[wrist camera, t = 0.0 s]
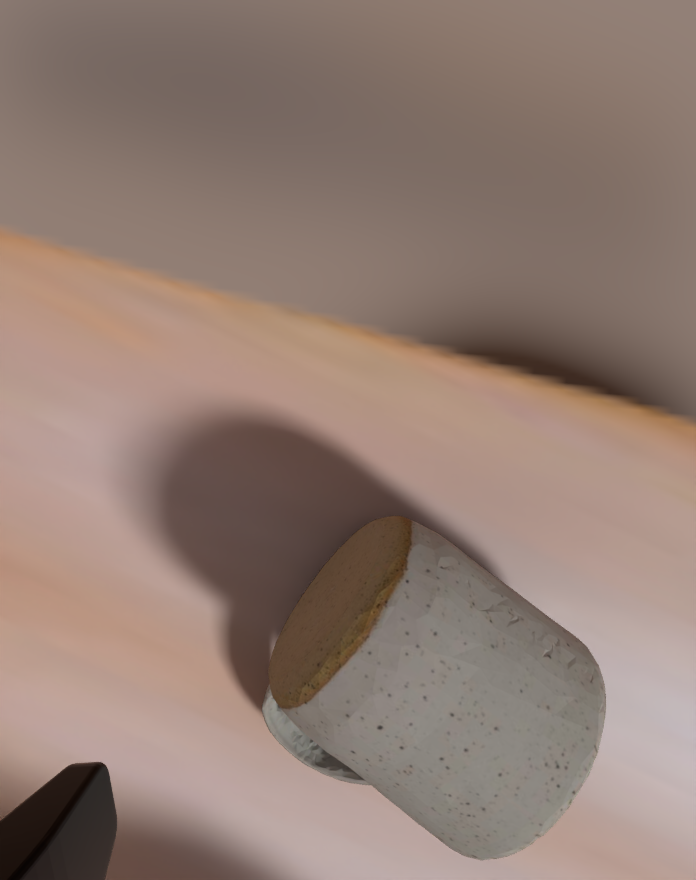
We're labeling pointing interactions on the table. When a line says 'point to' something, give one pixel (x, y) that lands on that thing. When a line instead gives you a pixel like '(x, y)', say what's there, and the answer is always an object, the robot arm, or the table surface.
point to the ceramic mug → (436, 690)
